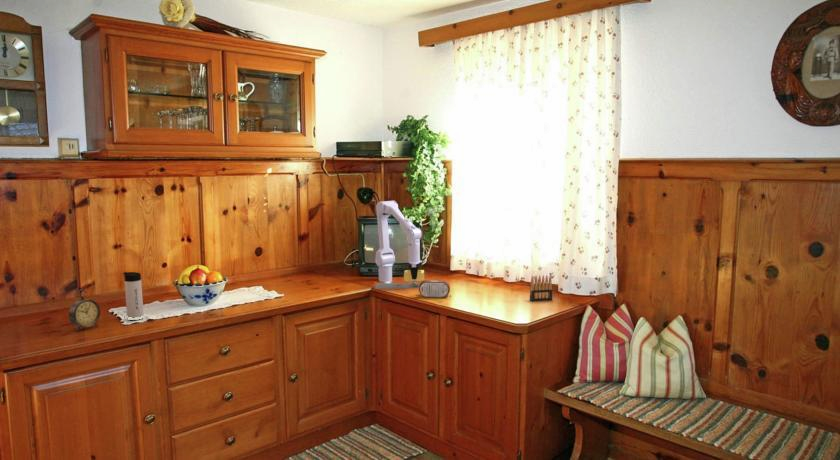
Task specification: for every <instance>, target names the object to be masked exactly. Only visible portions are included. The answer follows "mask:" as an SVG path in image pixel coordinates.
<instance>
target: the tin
mask: <svg viewBox="0 0 840 460" xmlns="http://www.w3.org/2000/svg"><path fill="white" fill-rule="evenodd" d="M418 292H419V294H420V296H422V297H424V298H426V299H427V298H428V299H429V298H432V299H443V298H446V297H447V296H449V294H450V292H451V287H450V284H449V283H448V282H447V281H446V280H443V279H424V281H420V285H419V289H418Z"/></svg>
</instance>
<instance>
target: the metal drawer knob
mask: <svg viewBox="0 0 840 460" xmlns="http://www.w3.org/2000/svg"><path fill="white" fill-rule="evenodd" d="M411 283H412V284H411V286H412V287H417V286H418V284H417V283H418V281H411Z"/></svg>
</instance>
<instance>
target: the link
mask: <svg viewBox="0 0 840 460" xmlns="http://www.w3.org/2000/svg"><path fill="white" fill-rule="evenodd" d="M424 280H425V270H424V269H418V273H417V278H416V279H412V276H411V271H410V269H409V270H408V269H407V270H404V273H403V282H412V281H417V282H422V281H424Z"/></svg>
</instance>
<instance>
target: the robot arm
mask: <svg viewBox="0 0 840 460" xmlns="http://www.w3.org/2000/svg"><path fill="white" fill-rule="evenodd" d="M375 212H376V213H375V214H376V219H377V231H378V244H379V248H378V249H377V251H375V259H374V262H375V264H376V266H377V267H378V281H379V283H389V282H390V283H391V282H392V281H393V266H394V264H395V262H396V256H395V254H394V250H393V249H392V248H391V247H390V234H389V224H388V218H389V217H390V216H391V215H392V216H393V217H394V218H395V219H396V220H397V221H398V222H399V228H401V230H403V232H404V233H405V238H406V240H407V245H408V250H407V251H408V261H407V263H408V269H409V270H410V271H411V276H412V279H416V278H417V273H418V270H420V265H421V264H420V263H423V260H421V255H420V254H421V251H420V250H421V249H420V248H421V245H420V243H421V241H420V240H421V239H422V237H423V232H422V230H421V228H420V227H416V226H415V225H414V223H413V222H412V221H411V219H410V218H408V217H407V218H406V217H405V216H404V215H403V213H402V212H401V210H400V209H399V204H398V203H397V201H396V200H386V201H385V200H384V201H382V200H381V201H378V202H377V204H376V205H375Z"/></svg>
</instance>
